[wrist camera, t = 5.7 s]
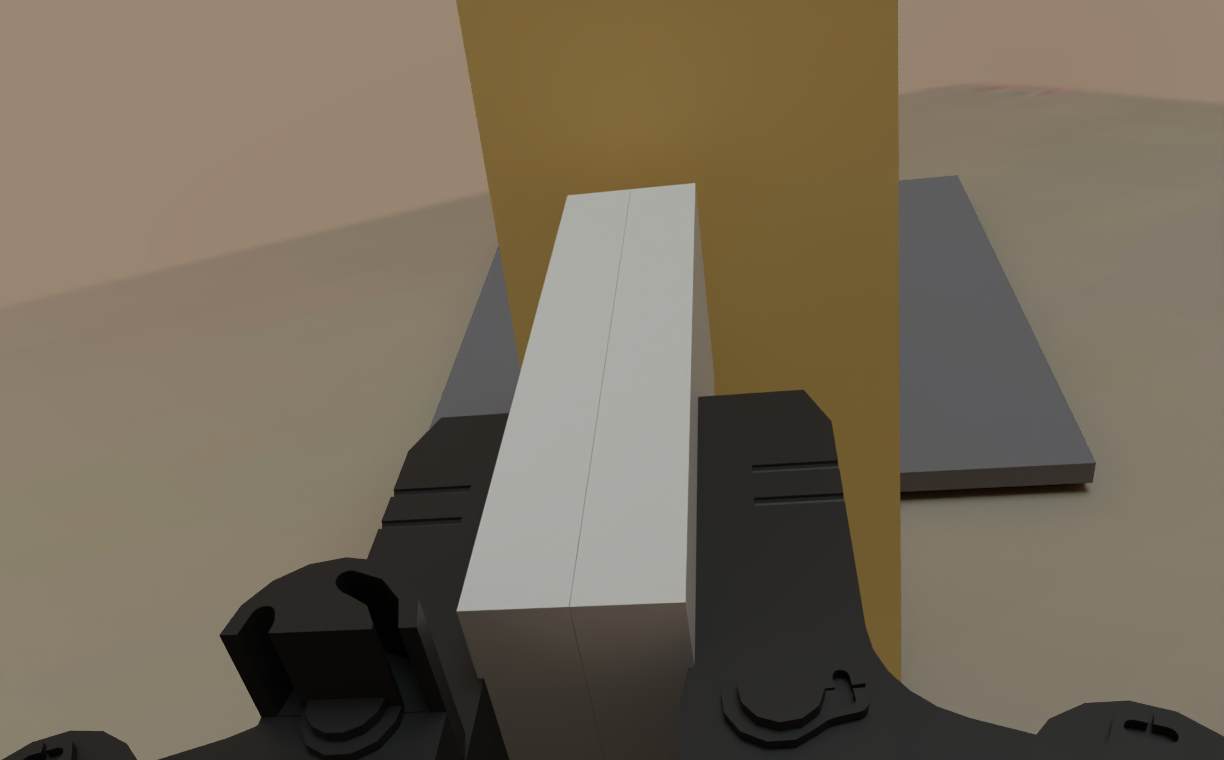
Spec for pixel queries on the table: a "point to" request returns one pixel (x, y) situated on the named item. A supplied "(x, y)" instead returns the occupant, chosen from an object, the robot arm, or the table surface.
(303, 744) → the robot arm
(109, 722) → the table surface
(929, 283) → the charcoal mat
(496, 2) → the ochre post
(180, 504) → the table surface
